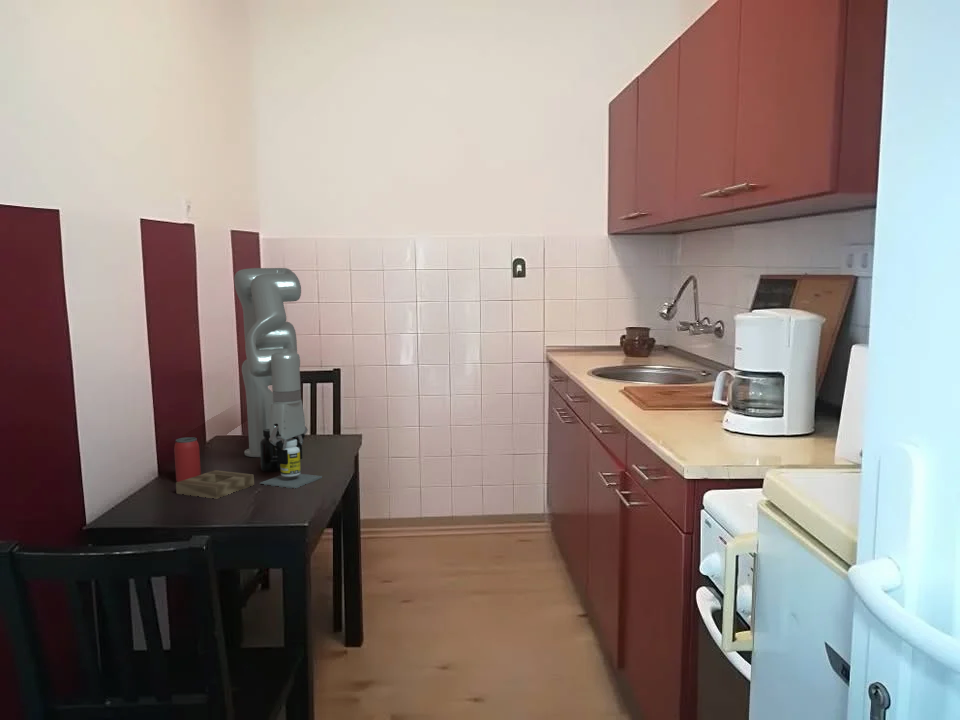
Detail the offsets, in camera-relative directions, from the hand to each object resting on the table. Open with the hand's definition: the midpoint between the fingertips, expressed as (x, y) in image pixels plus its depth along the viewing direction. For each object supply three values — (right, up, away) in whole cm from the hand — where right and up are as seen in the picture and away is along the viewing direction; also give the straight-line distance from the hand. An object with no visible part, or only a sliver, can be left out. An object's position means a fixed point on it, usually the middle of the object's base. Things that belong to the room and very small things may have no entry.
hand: (290, 460), depth 211 cm
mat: (0, -6, 0) cm, 6 cm away
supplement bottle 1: (-9, -5, +15) cm, 18 cm away
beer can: (-29, -6, +3) cm, 30 cm away
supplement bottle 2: (0, -4, 0) cm, 4 cm away
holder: (-18, -7, -6) cm, 21 cm away
